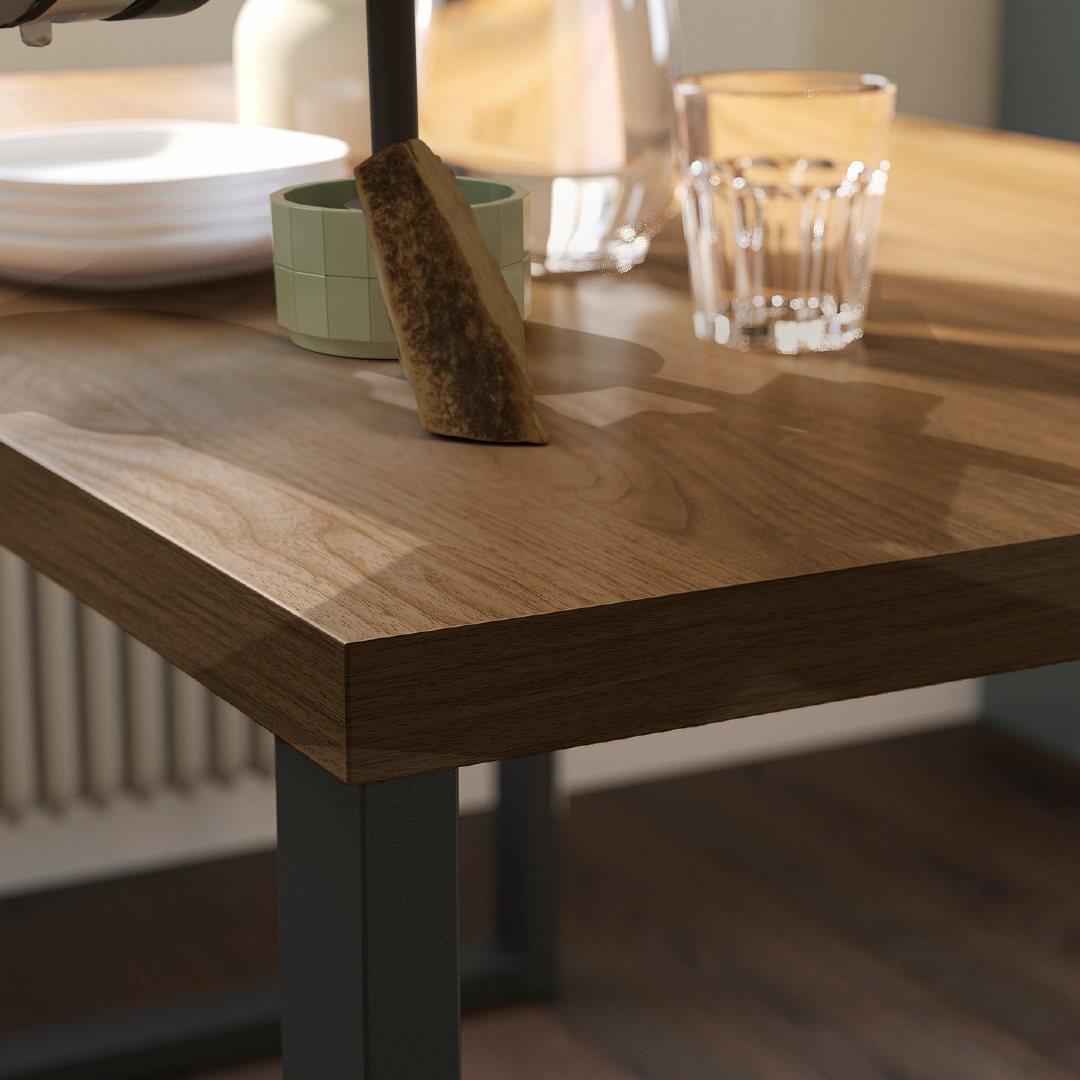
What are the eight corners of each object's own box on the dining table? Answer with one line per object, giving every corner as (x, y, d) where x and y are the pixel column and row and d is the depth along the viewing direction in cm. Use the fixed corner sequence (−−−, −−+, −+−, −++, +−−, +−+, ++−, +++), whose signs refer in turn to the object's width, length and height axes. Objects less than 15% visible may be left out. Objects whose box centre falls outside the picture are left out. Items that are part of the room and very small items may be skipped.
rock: (341, 305, 70) (235, 323, 60) (469, 131, 67) (379, 121, 57) (547, 482, 69) (472, 529, 59) (685, 313, 66) (629, 334, 57)
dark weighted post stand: (334, 305, 74) (304, -324, 66) (362, 284, 78) (336, -309, 70) (441, 308, 73) (424, -328, 65) (463, 286, 78) (449, -312, 70)
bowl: (243, 358, 71) (233, 210, 69) (318, 304, 81) (312, 173, 79) (504, 366, 70) (502, 214, 68) (548, 309, 80) (547, 176, 78)
